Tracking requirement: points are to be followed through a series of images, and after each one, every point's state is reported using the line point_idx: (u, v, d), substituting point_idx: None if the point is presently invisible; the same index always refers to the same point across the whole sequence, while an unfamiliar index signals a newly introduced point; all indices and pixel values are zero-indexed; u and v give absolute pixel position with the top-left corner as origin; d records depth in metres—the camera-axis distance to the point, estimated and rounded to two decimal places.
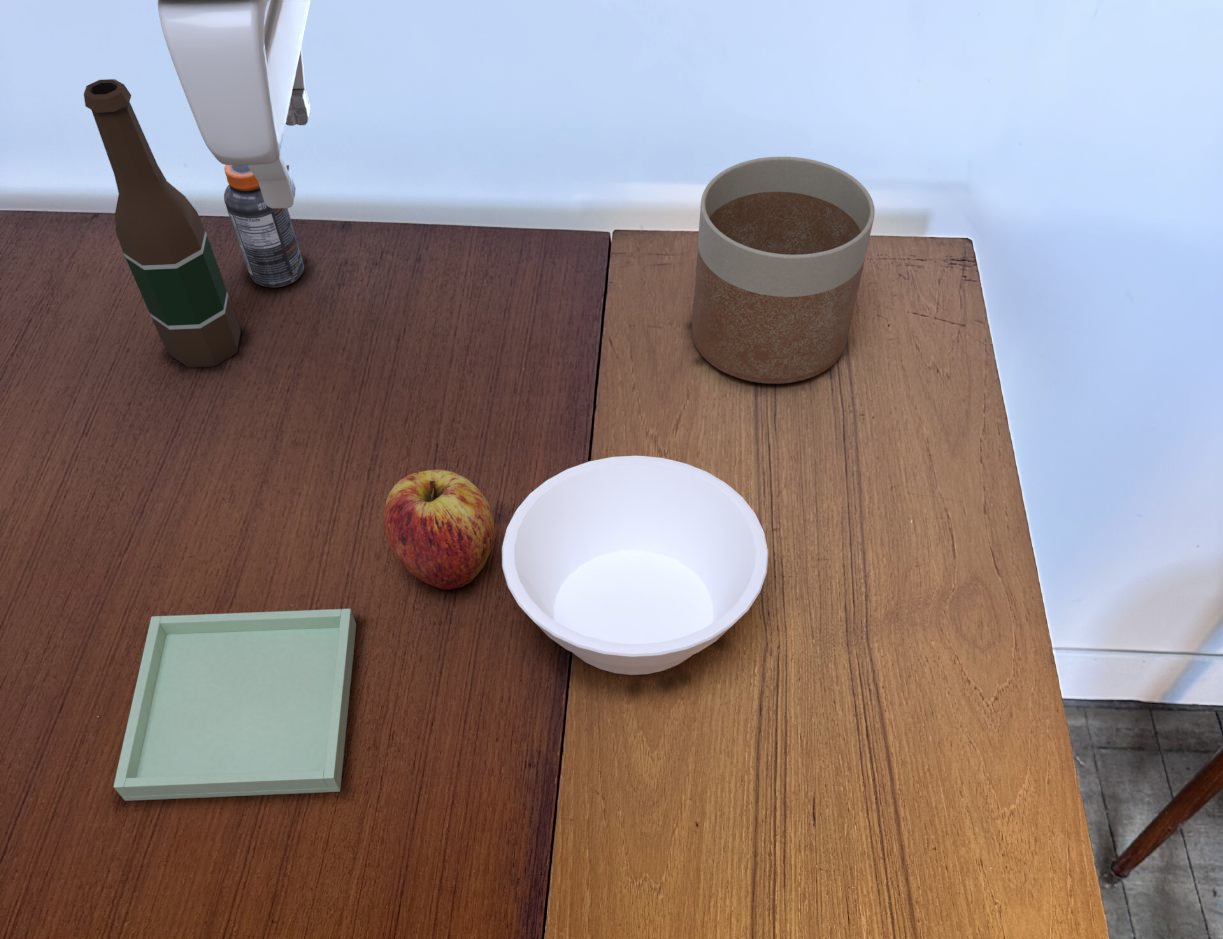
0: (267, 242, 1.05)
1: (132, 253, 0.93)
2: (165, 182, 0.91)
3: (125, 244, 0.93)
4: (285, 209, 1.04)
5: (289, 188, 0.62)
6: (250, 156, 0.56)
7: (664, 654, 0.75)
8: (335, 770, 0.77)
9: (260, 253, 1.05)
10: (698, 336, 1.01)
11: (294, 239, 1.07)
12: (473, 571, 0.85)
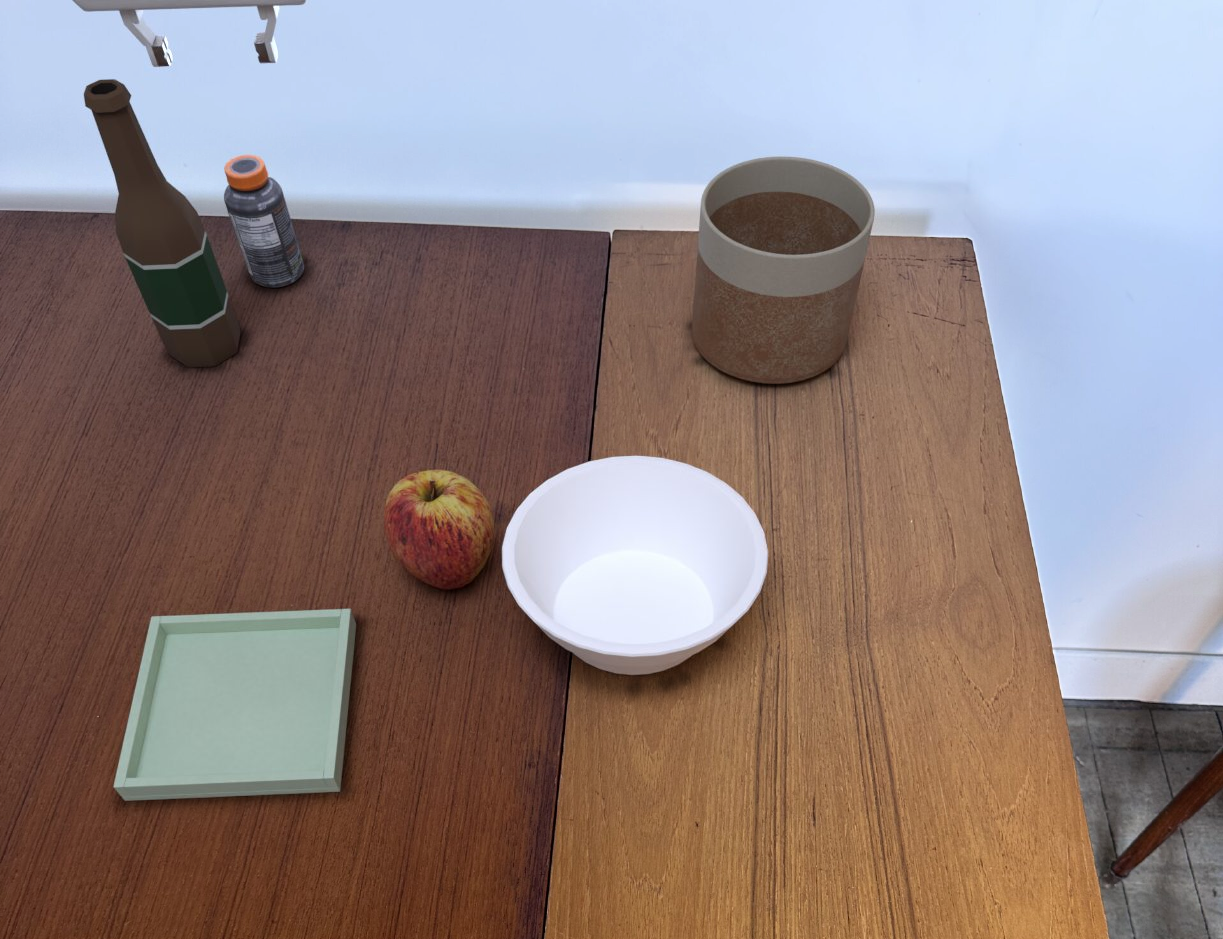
0: (267, 242, 1.05)
1: (132, 253, 0.93)
2: (165, 182, 0.91)
3: (125, 244, 0.93)
4: (285, 209, 1.04)
5: (148, 53, 0.89)
6: None
7: (664, 654, 0.75)
8: (335, 770, 0.77)
9: (260, 253, 1.05)
10: (698, 336, 1.01)
11: (294, 239, 1.07)
12: (473, 571, 0.85)
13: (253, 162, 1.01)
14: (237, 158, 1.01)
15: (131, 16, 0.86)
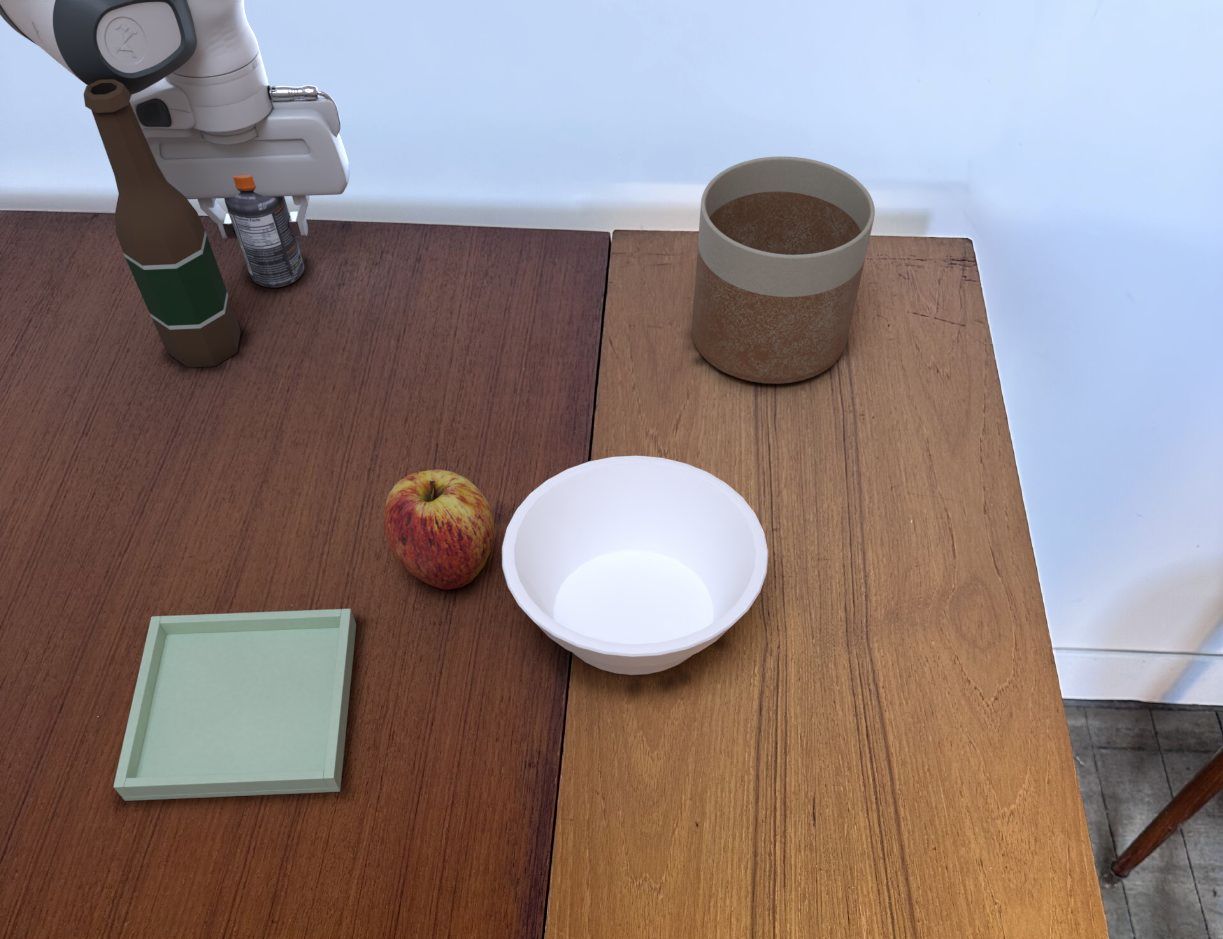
0: (267, 242, 1.05)
1: (132, 253, 0.93)
2: (165, 182, 0.91)
3: (125, 244, 0.93)
4: (285, 209, 1.04)
5: (219, 229, 1.05)
6: None
7: (664, 654, 0.75)
8: (335, 770, 0.77)
9: (260, 253, 1.05)
10: (698, 336, 1.01)
11: (294, 239, 1.07)
12: (473, 571, 0.85)
13: None
14: None
15: (207, 202, 1.03)
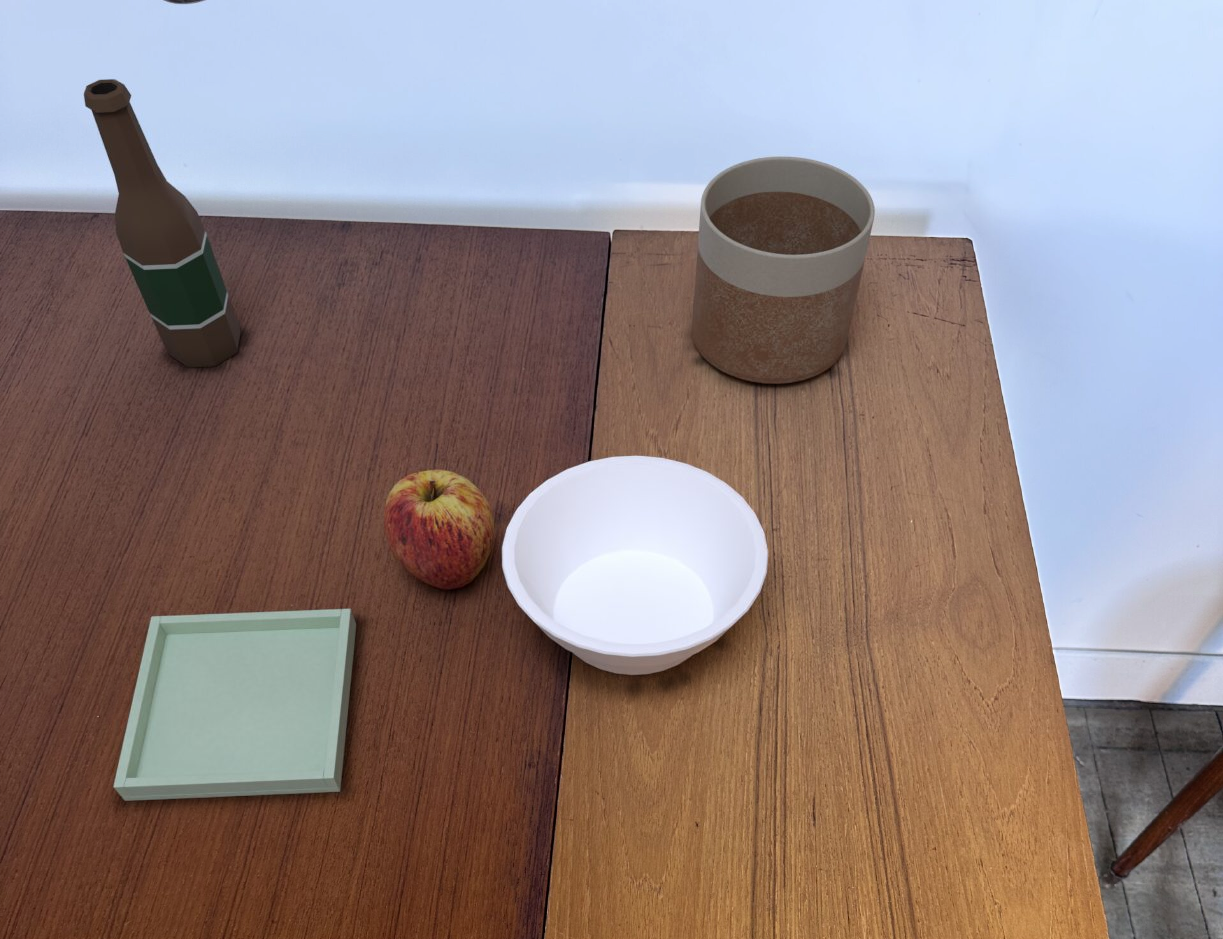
0: None
1: (132, 253, 0.93)
2: (165, 182, 0.91)
3: (125, 244, 0.93)
4: None
5: None
6: None
7: (664, 654, 0.75)
8: (335, 770, 0.77)
9: None
10: (698, 336, 1.01)
11: None
12: (473, 571, 0.85)
13: None
14: None
15: None
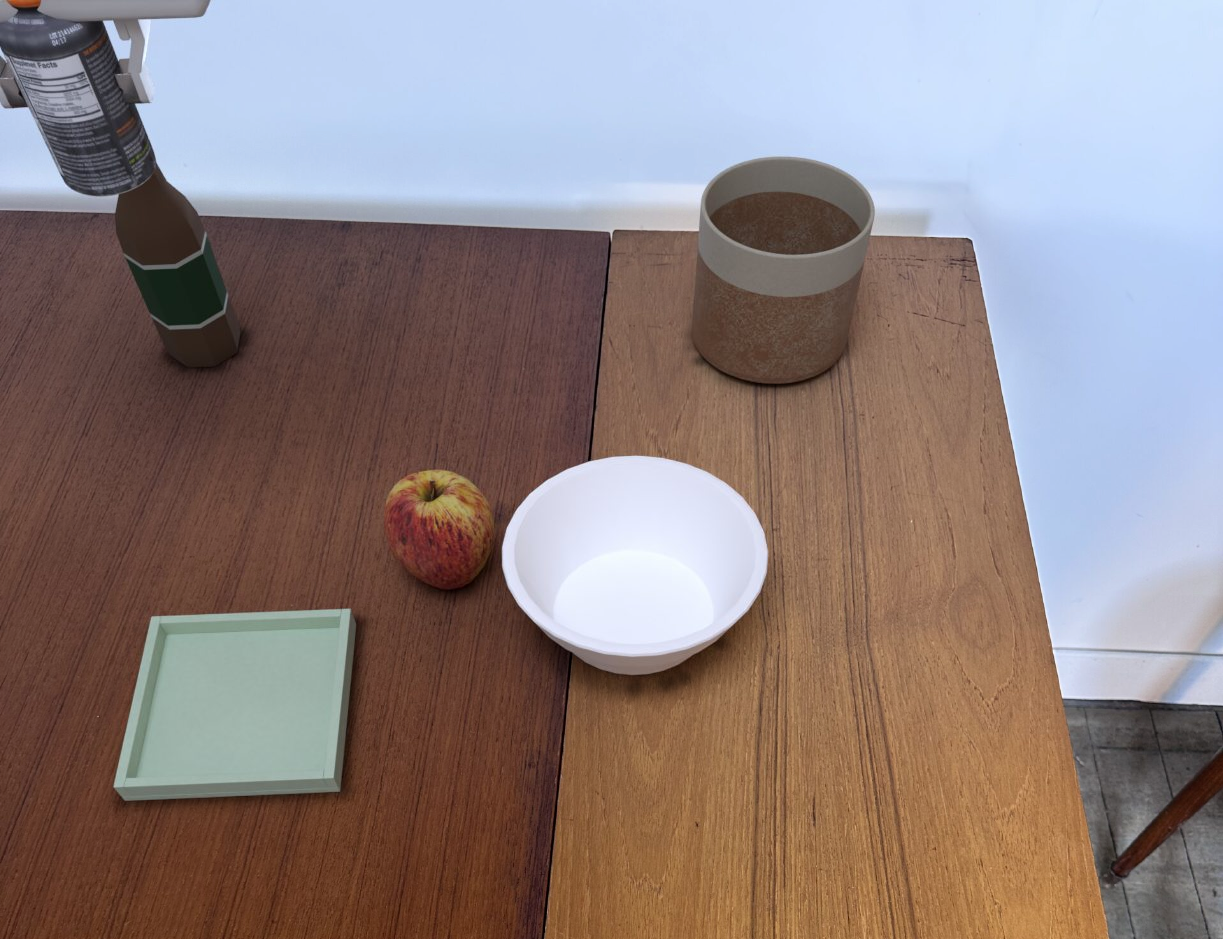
0: (77, 110, 0.59)
1: (132, 253, 0.93)
2: (165, 182, 0.91)
3: (125, 244, 0.93)
4: (107, 50, 0.59)
5: None
6: None
7: (664, 654, 0.75)
8: (335, 770, 0.77)
9: (68, 130, 0.60)
10: (698, 336, 1.01)
11: (130, 109, 0.61)
12: (473, 571, 0.85)
13: None
14: None
15: None
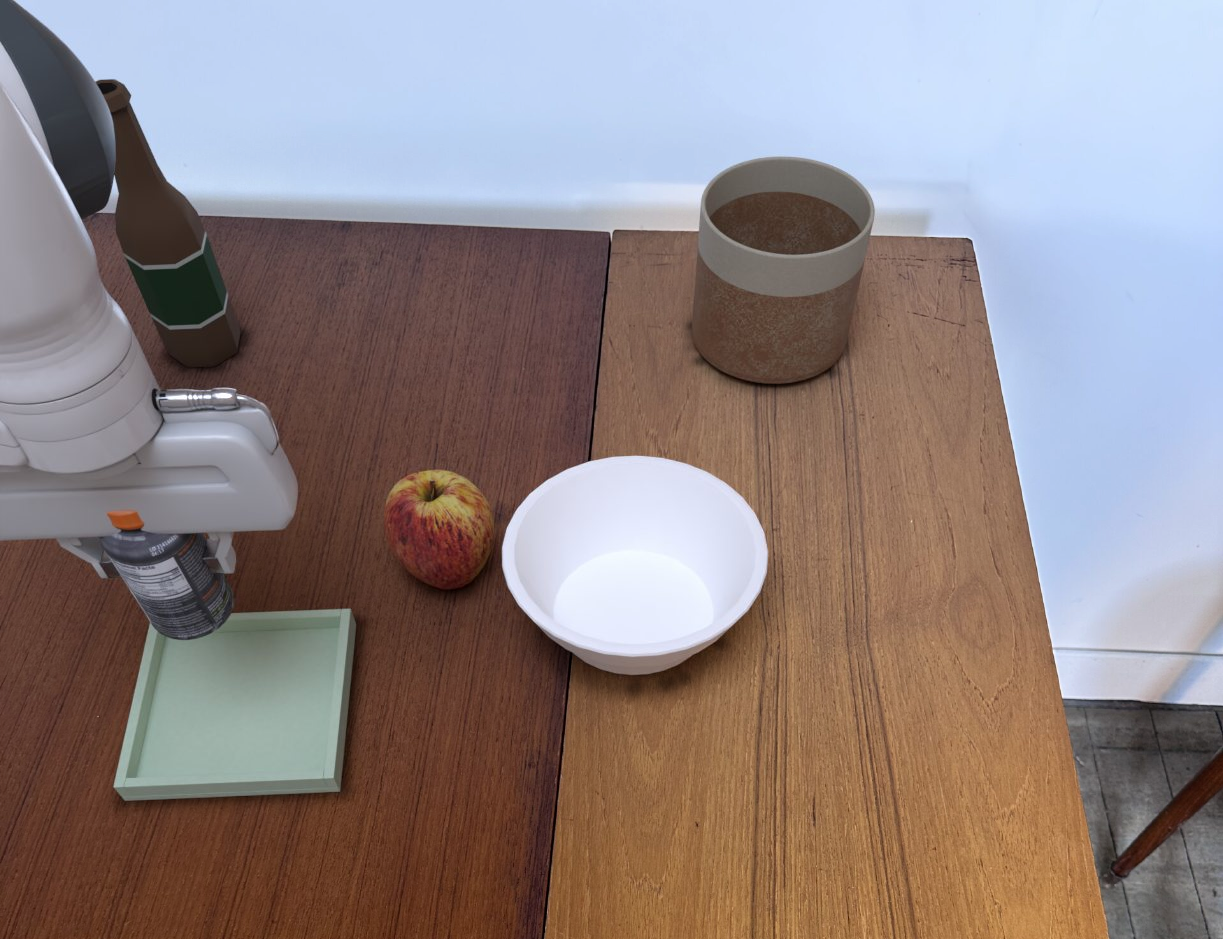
0: (169, 592, 0.66)
1: (132, 253, 0.93)
2: (165, 182, 0.91)
3: (125, 244, 0.93)
4: (198, 542, 0.66)
5: (95, 569, 0.67)
6: None
7: (664, 654, 0.75)
8: (335, 770, 0.77)
9: (160, 604, 0.67)
10: (698, 336, 1.01)
11: (214, 575, 0.68)
12: (473, 571, 0.85)
13: None
14: None
15: (70, 539, 0.64)
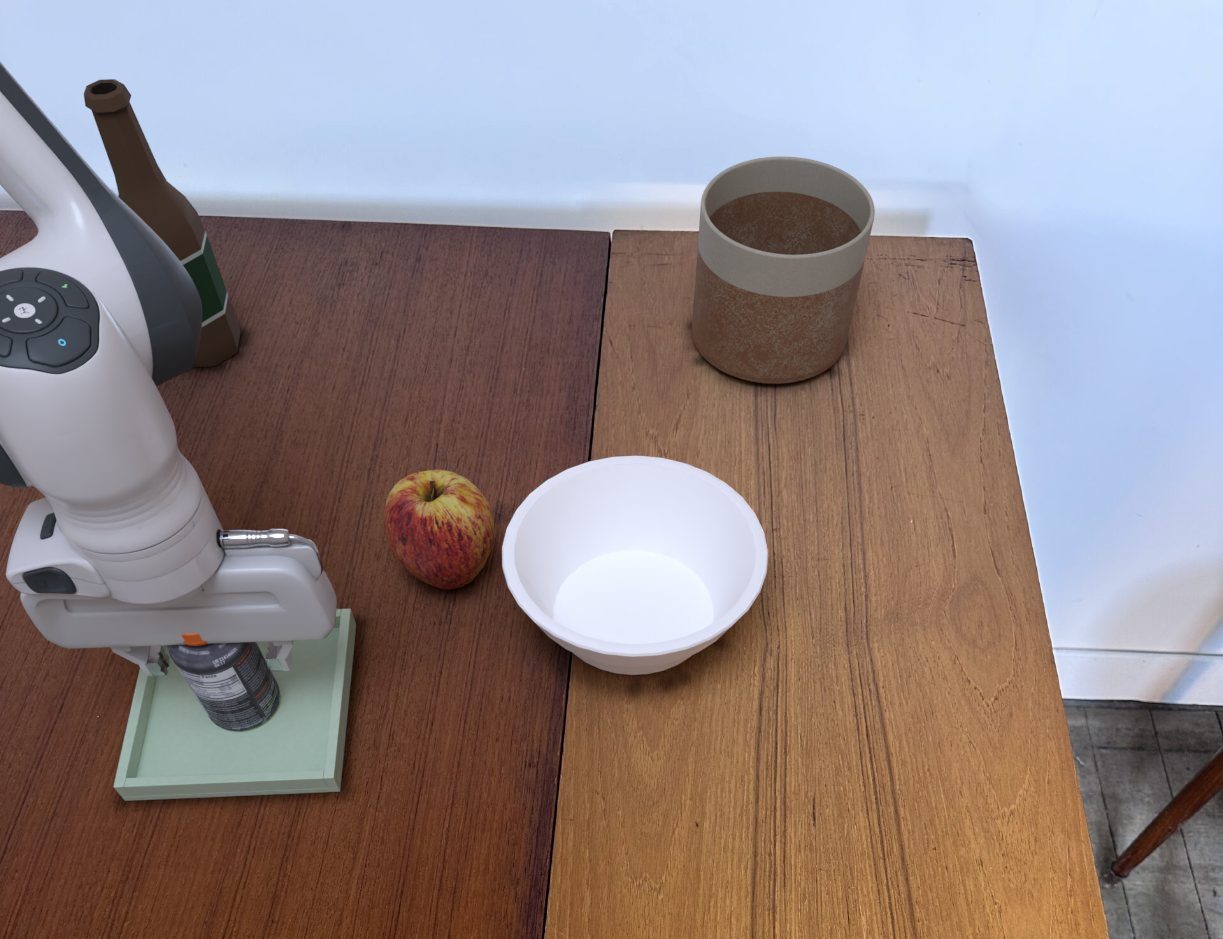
0: (227, 694, 0.76)
1: None
2: (165, 182, 0.91)
3: None
4: (252, 651, 0.76)
5: None
6: None
7: (664, 654, 0.75)
8: (335, 770, 0.77)
9: (219, 704, 0.77)
10: (698, 336, 1.01)
11: (265, 677, 0.78)
12: (473, 571, 0.85)
13: None
14: None
15: (121, 647, 0.73)
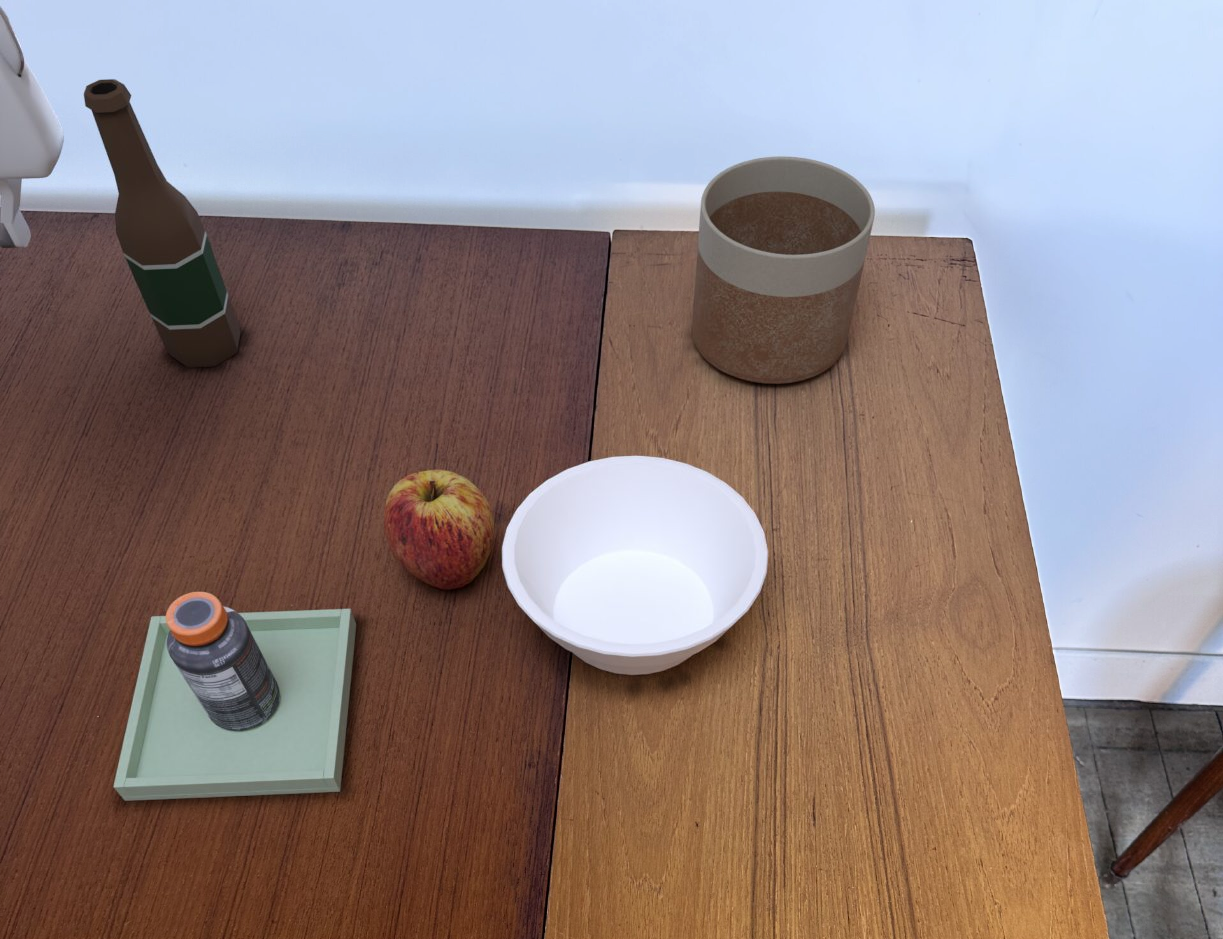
0: (227, 694, 0.76)
1: (132, 253, 0.93)
2: (165, 182, 0.91)
3: (125, 244, 0.93)
4: (252, 651, 0.76)
5: None
6: None
7: (664, 654, 0.75)
8: (335, 770, 0.77)
9: (219, 704, 0.77)
10: (698, 336, 1.01)
11: (265, 677, 0.78)
12: (474, 571, 0.85)
13: (206, 607, 0.72)
14: (184, 598, 0.73)
15: None
